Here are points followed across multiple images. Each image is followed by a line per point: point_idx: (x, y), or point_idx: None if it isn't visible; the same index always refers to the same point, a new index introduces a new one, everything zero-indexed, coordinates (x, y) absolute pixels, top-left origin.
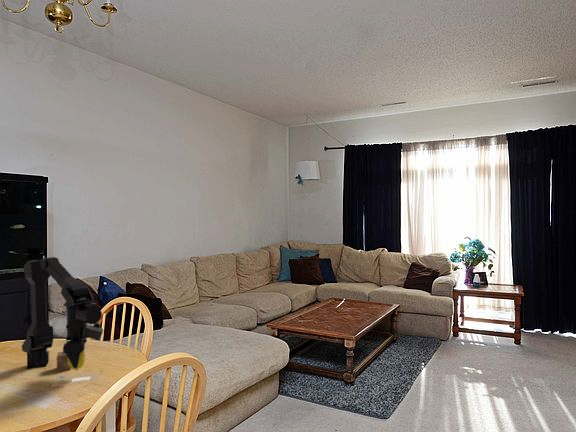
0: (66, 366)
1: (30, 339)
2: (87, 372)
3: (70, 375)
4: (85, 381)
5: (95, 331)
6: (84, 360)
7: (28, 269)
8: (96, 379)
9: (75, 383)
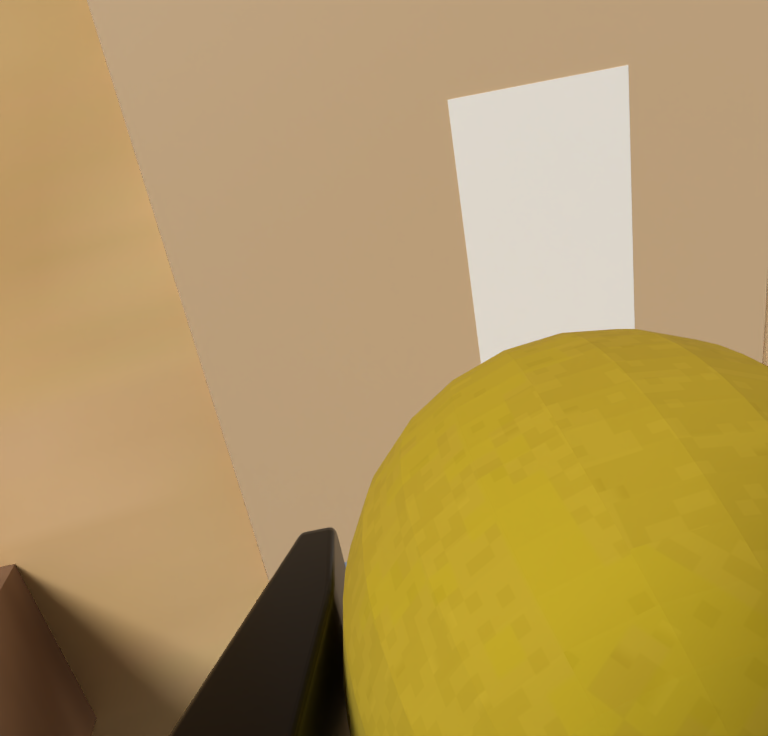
0: (10, 687)
1: None
2: (180, 235)
3: (309, 497)
4: (721, 133)
5: None
6: (726, 354)
7: None
8: None
9: (746, 300)
